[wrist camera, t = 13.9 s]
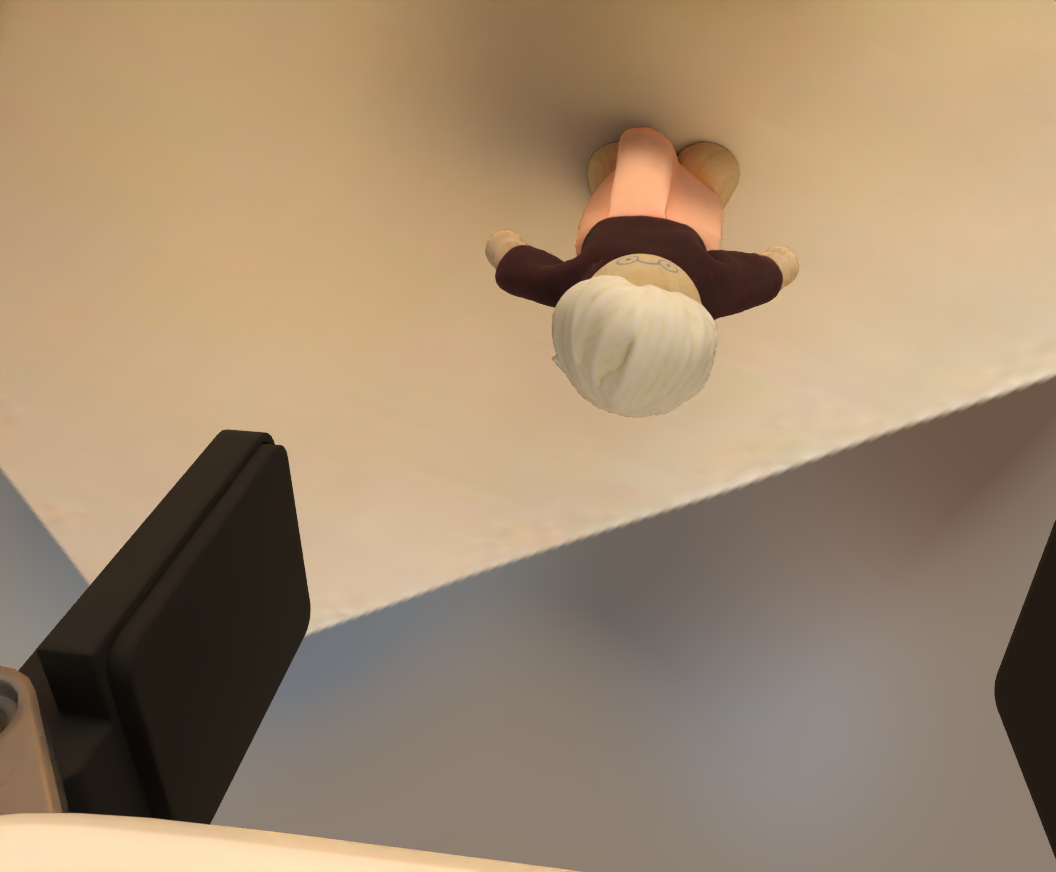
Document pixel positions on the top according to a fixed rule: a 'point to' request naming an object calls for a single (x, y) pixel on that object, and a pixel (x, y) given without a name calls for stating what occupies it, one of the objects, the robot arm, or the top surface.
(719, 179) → the grandmother figurine
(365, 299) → the top surface
